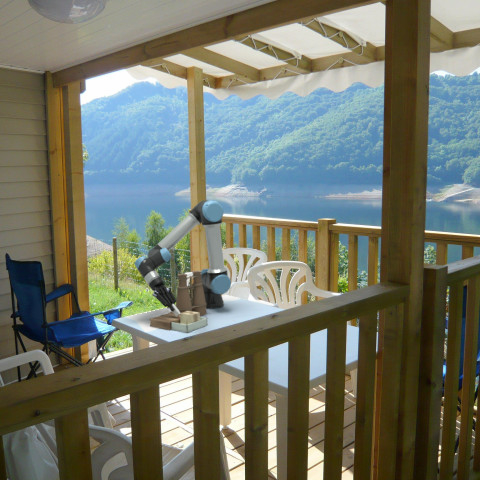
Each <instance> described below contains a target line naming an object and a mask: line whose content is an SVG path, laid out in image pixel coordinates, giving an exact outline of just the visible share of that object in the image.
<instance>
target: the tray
mask: <svg viewBox="0 0 480 480" xmlns="http://www.w3.org/2000/svg"><path fill="white" fill-rule="evenodd" d="M207 326H208V318H207V317H203V316H200V320H199V321H197V322H194V323H191V324H188V325H185V324H179V323H174V322H171V327H172V330H171V331H177V332H181V333H186V334H188V333H191V332H193V331H197V330H199V329H201V328H204V327H207Z"/></svg>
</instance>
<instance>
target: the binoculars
mask: <svg viewBox="0 0 480 480" xmlns="http://www.w3.org/2000/svg"><path fill="white" fill-rule="evenodd" d="M191 273H192V275H190V276H189V277H188V274H187V273H178V274H177V281H178V286H177V287H176V298H175V299H176V303H175V305H176V307H177V308H178V310H179V312H180V313H183V312H186V311H192V312H198V313H200V317H203V316H206V315H207V308H206V305H207V303H206V301H205V295H204V289H203V283H201V277H202V275H201V270H195V271H192V272H191ZM188 279H189V285H188Z"/></svg>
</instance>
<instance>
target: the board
mask: <svg viewBox="0 0 480 480" xmlns="http://www.w3.org/2000/svg"><path fill="white" fill-rule="evenodd" d="M171 322H174V323H179V324H181V323H180V315H179V316H178V317H176V316H175V314H174V313H173V312H172V311H170V312H167V313H164V314H161V315H158V316H155V317H152V318H150V319H149V324H150V325H149V326H150V327H152V328H158V329H162V330H168V331H173V330H172V327H171Z"/></svg>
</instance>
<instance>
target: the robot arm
mask: <svg viewBox="0 0 480 480" xmlns="http://www.w3.org/2000/svg"><path fill="white" fill-rule="evenodd" d="M224 214H225V213H224V207H223V206H222V204H220V202H218V201H216V200H214V199H213V200H211V199H205V200H201V201H200V202H198V203H197V204H196V205H195V206H194V207H192V209H191V210H190V211H188V213H187V216H186V217H185V218H183V220H181V221H180V222H179V223H178V224H177V225H176V226H175V227H174V228H173V229H172V230H170V231H169V233H168V234H166V236H164V238H162V239H161V240H160V241H159V242H158V243H156V245H155V246H154V247H151V248H150V249H148V251H147V254H146V256H145V255H142V256H139V257H138V258H136V260H135V261H134V266H135V268H136V269H137V271H138V272H139V274H140V276H141V277H142V278H143V280H145V282H146V283H147V285H148V286H149V288H150V289H151V291H153V293H152V297H154V298H155V299H156V300H157V301H158V302H159V303H161V305H162V306H164V308H167V309H169V310H170V312H173V313H174V314H175V316H176V317H178V316H179V315H180V312H179V310H178V308H177V307H176V299H177V298H175V295H174V293H173V291H172V288H171V287H169V288H168V287H167V286H166V285H165V283H164V280H163V279H162V278H161V277H160V275H159V273H158V272H157V271H156V270H157V268H160V267H161V266H163V265H165V264H166V263H168V262H169V261H170V260H171V259H172V254H171V252H170V251H171V250H172V249H173V248H174V247H175V246H176V245H177V244H178V243H179V242H180V241H181V240H182V239H184V237H186V235H188V234H189V233H190V232H191V231H193V229H194V228H195V227H196V226H198V225H199V226H200V225H201V226H202V227H204V229H205V239H206V248H207V258H208V266H209V268H204V269H201V270H200V271H201V275H202V277H201V283H203V289H204V295H205V301H206V303H207V305H206V309H218V308H222V307H224V305H225V303H224V301H225V300H223V296H222V295H223V294H225V293H228V291H229V290H230V289H231V286H232V280H231V279H230V277H229V275H228V269H227V268H226V267H225V262H224V253H223V252H224V251H223V246H222V245H223V242H222V235H221V225H222V224H223V217H224Z"/></svg>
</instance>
